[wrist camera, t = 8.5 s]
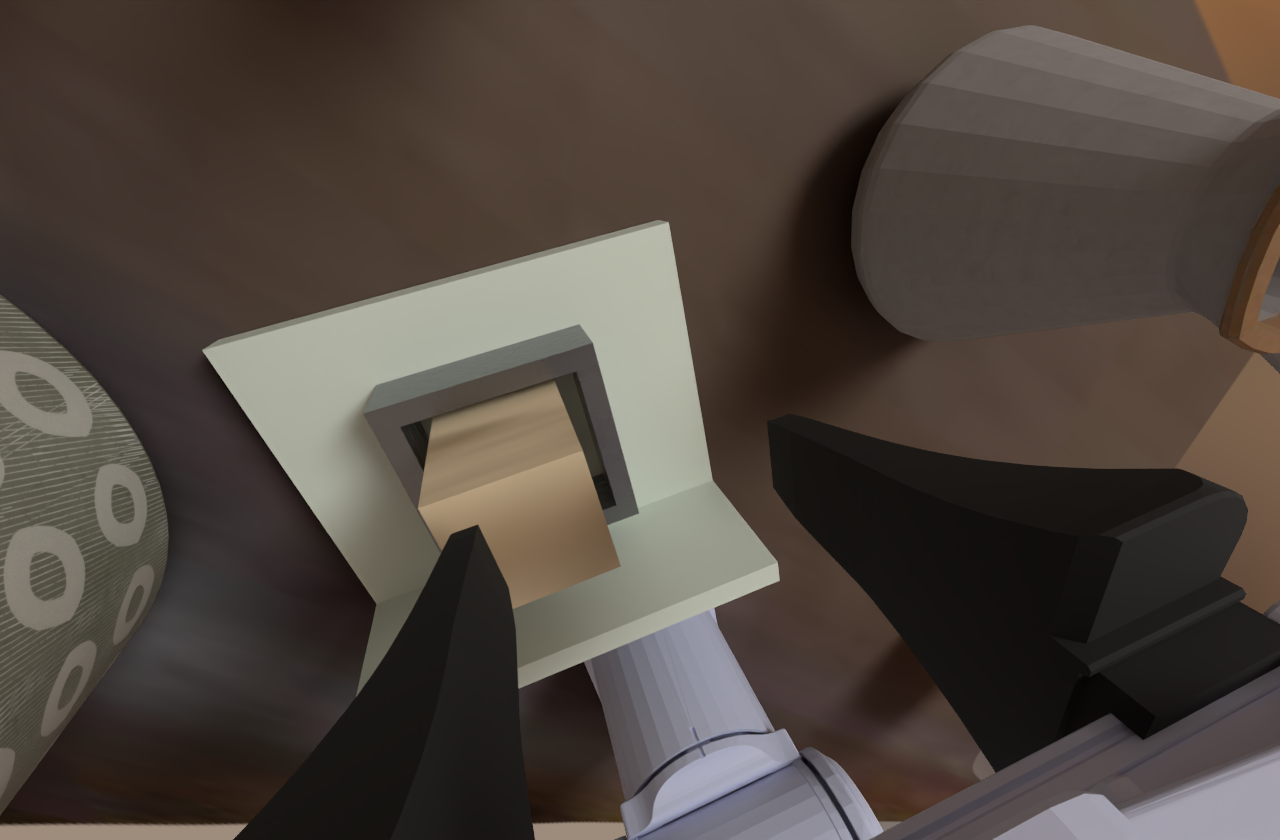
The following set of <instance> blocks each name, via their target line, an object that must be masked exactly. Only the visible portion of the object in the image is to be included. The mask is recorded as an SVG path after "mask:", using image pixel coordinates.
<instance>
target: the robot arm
mask: <svg viewBox="0 0 1280 840" xmlns="http://www.w3.org/2000/svg"><path fill="white" fill-rule="evenodd" d="M767 426H768V436H769V446H770V457H771V467H772V477H773V487H774V489H775V490H776V492H777V493H778V495H779V496H780V497H781V499H782V500H783V502H784V503H785V505H786V506H787V507H788V509H789V510H790V511H791V513H792V514H793V515H794V517H795V518H796V519H797V520H798V521H799V522H800V523H801V524H802V526H803V527H804V528H805V529H806V530H807V531H808V532H809V533H810V534H811V535H812V536H813V537H814V538H815V539H816V540H817V541H818V542H819V543H820V544H821V546H822V547H823V548H824V549H825V550H826V551H827V552H828V553H829V554H830V555H831V556H832V557H833V558H834V559H835V560H836V561H837V562H838V563H839V564H840V565H841V566H842V567H843V568H844V569H845V570H846V571H847V572H848V573H849V574H850V576H851V577H852V578H853V579H854V580H855V581H856V582H857V583H858V584H859V585H860V586H861V587H862V588H863V590H864V591H865V592H866V593H867V594H868V595H869V596H870V597H871V599H872V600H873V601H874V602H875V604H876V605H877V606H878V608H879V609H880V610H881V611H882V613H883V614H884V615H885V616H886V618H887V619H888V620H889V622H890V623H891V624H892V625H893V627H894V628H895V629H896V630H897V632H898V633H899V634H900V636H901V637H902V638H903V640H904V641H905V642H906V644H907V645H908V646H909V648H910V649H911V650H912V652H913V653H914V654H915V656H916V657H917V659H918V660H919V661H920V663H921V664H922V665H923V667H924V668H925V669H926V671H927V672H928V673H929V675H930V676H931V678H932V679H933V681H934V682H935V683H936V685H937V686H938V688H939V689H940V691H941V692H942V693H943V695H944V696H945V698H946V699H947V700H948V702H949V703H950V705H951V706H952V708H953V709H954V710H955V712H956V713H957V715H958V716H959V718H960V719H961V721H962V722H963V724H964V725H965V727H966V728H967V730H968V731H969V733H970V734H971V736H972V737H973V739H974V740H975V742H976V743H977V745H978V746H979V748H980V749H981V751H982V752H983V754H984V755H985V756H986V758H987V760H988V761H989V763H990V764H991V766H992V767H993V769H994V771H995V772H996V773H995V774H993V775H991V776H989V777H987V778H986V779H984V780H982V781H980V782H978V783H976V784H974V785H972V786H970V787H968V788H966V789H964V790H962V791H961V792H959V793H957V794H955V795H953V796H951V797H949V798H947V799H945V800H943V801H941V802H940V803H938V804H936V805H934V806H932V807H930V808H928V809H926V810H924V811H922V812H920V813H919V814H917V815H915V816H913V817H911V818H909V819H907V820H905V821H903V822H901V823H899V824H898V825H896V826H894V827H892V828H890V829H888V830H886V831H883V829H882V828H881V826H880V824H879V822H878V820H877V819H876V817H875V815H874V814H873V812H872V810H871V808H870V807H869V805H868V804H867V802H866V800H865V799H864V797H863V796H862V794H861V793H860V791H859V790H858V788H857V787H856V785H855V784H854V783H853V781H852V780H851V779H850V777H849V776H848V775H847V773H846V772H845V771H844V770H843V769H842V768H841V767H840V765H839V764H838V763H836V762H835V761H834V760H833V759H831V758H829V757H827V756H825V755H823V754H821V753H820V752H819V751H818V750H816V749H814V748H812V747H807V748H805V749H803V750H802V751H800V752H798V751H797V749H796V747H795V746H794V744H793V742H792V740H791V739H790V737H789V735H788V733H787V732H786V730H785V729H780V730H778V731H775V730H774V728H773V727H772V725H771V723H770V721H769V719H768V717H767V716H766V714H765V712H764V710H763V708H762V706H761V705H760V703H759V701H758V699H757V697H756V695H755V694H754V692H753V690H752V688H751V686H750V684H749V683H748V681H747V679H746V677H745V675H744V673H743V672H742V670H741V668H740V666H739V664H738V662H737V661H736V659H735V657H734V655H733V653H732V651H731V650H730V648H729V646H728V644H727V642H726V640H725V639H724V637H723V635H722V633H721V631H720V629H719V628H718V624H717V619H716V614H715V609H714V608H712V609H710V610H707V611H705V612H702V613H700V614H698V615H695V616H693V617H690V618H688V619H685V620H683V621H681V622H678V623H676V624H673V625H671V626H669V627H666V628H664V629H661V630H659V631H657V632H654V633H652V634H649V635H647V636H644V637H642V638H640V639H637V640H635V641H632V642H630V643H628V644H625V645H623V646H620V647H618V648H615V649H613V650H611V651H608V652H606V653H603V654H601V655H599V656H596V657H594V658H591V659H589V660H586V661H584V663H585V666H586V668H587V670H588V673H589V675H590V677H591V680H592V682H593V684H594V687H595V689H596V692H597V694H598V696H599V699H600V701H601V703H602V707H603V711H604V715H605V719H606V723H607V727H608V732H609V736H610V740H611V744H612V748H613V752H614V756H615V760H616V764H617V768H618V772H619V776H620V780H621V784H622V789H623V793H624V797H625V801H626V802H624V803H622V804H621V805H620V810H621V814H622V818H623V823H624V826H625V831H626V835H627V837H626V836H622V837H620V838H618V839H615V840H1280V600H1279V601H1278V602H1277V603H1275V604H1273V605H1272V606H1271V607H1270V608H1269V609H1268V610H1267V611H1266V612H1265V613H1264V614H1263V615H1262V614H1261V613H1259V612H1257V611H1255V610H1253V609H1252V608H1250V607H1248V606H1246V605H1244V604H1243V603H1241V602H1239V601H1241V600H1243V599H1244V597H1245V595H1246V593H1245V591H1244V590H1243V588H1241V587H1239V586H1237V585H1235V584H1233V583H1232V582H1230V581H1228V580H1226V579H1224V578H1222V577H1220V576H1221V573H1222V572H1223V570H1224V568H1225V566H1226V564H1227V562H1228V560H1229V558H1230V556H1231V554H1232V552H1233V550H1234V548H1235V546H1236V544H1237V542H1238V541H1239V538H1240V536H1241V534H1242V531H1243V529H1244V527H1245V524H1246V521H1247V513H1248V509H1247V506H1246V504H1245V501H1244V499H1243V496H1242V495H1240V494H1238V493H1237V492H1235V491H1233V490H1230V489H1227V488H1225V487H1223V486H1221V485H1218V484H1216V483H1214V482H1211V481H1209V480H1206V479H1204V478H1201V477H1199V476H1197V475H1194V474H1192V473H1190V472H1187V471H1184V470H1181V469H1089V468H1066V467H1048V466H1034V465H1023V464H1013V463H1004V462H994V461H986V460H979V459H972V458H965V457H960V456H954V455H948V454H942V453H936V452H931V451H926V450H922V449H917V448H913V447H909V446H904V445H900V444H896V443H892V442H888V441H884V440H880V439H877V438H873V437H869V436H866V435H862V434H859V433H855V432H852V431H849V430H845V429H842V428H839V427H835V426H832V425H829V424H825V423H822V422H819V421H815V420H812V419H808V418H805V417H801V416H797V415H792V414H787V415H785V416H782V417H779V418H776V419H773V420H770V421H768V422H767ZM233 840H535V838H534V831H533V824H532V818H531V811H530V805H529V798H528V791H527V784H526V777H525V769H524V762H523V755H522V746H521V734H520V717H519V692H518V666H517V643H516V627H515V621H514V614H513V608H512V603H511V597H510V592H509V587H508V585H507V583H506V581H505V579H504V577H503V575H502V573H501V571H500V569H499V567H498V565H497V562H496V560H495V558H494V556H493V554H492V552H491V550H490V548H489V546H488V544H487V542H486V540H485V538H484V536H483V534H482V532H481V529H480V527H479V525H475V526H472V527H469V528H466V529H464V530H461V531H458V532H455V533H452V534H451V535H450V537H449V538H448V540H447V542H446V544H445V546H444V548H443V550H442V552H441V554H440V556H439V558H438V560H437V562H436V564H435V566H434V568H433V570H432V572H431V574H430V576H429V578H428V580H427V582H426V584H425V586H424V588H423V590H422V592H421V594H420V596H419V598H418V599H417V601H416V603H415V605H414V607H413V609H412V611H411V612H410V614H409V616H408V618H407V620H406V621H405V623H404V625H403V626H402V628H401V630H400V631H399V633H398V635H397V636H396V638H395V640H394V642H393V643H392V645H391V647H390V648H389V650H388V651H387V653H386V655H385V656H384V658H383V659H382V661H381V662H380V664H379V665H378V667H377V668H376V670H375V671H374V673H373V674H372V675H371V677H370V678H369V680H368V681H367V683H366V684H365V685H364V687H363V688H362V690H361V691H360V692H359V694H358V695H357V697H356V698H355V699H354V701H353V702H352V703H351V705H350V706H349V707H348V709H347V710H346V711H345V712H344V714H343V715H342V716H341V717H340V719H339V720H338V721H337V722H336V724H335V725H334V726H333V727H332V729H331V730H330V731H329V732H328V734H327V735H326V736H325V737H324V739H323V740H322V741H321V742H320V744H319V745H318V746H317V747H316V749H315V750H314V751H313V752H312V754H311V755H310V756H309V757H308V758H307V759H306V761H305V762H304V763H303V764H302V765H301V766H300V768H299V769H298V770H297V771H296V772H295V773H294V774H293V776H292V777H291V778H290V779H289V780H288V781H287V782H286V784H285V785H284V786H283V787H282V788H281V789H280V790H279V791H278V792H277V794H276V795H275V796H274V797H273V798H272V799H271V800H270V801H269V802H268V803H267V804H266V806H265V807H264V808H263V809H262V810H261V811H260V812H259V813H258V814H257V815H256V816H255V817H254V819H253V820H252V821H251V822H250V823H249V824H248V825H247V826H246V827H245V828H244V829H243V830H242V831H241V832H240V833H239V834H238V835H237V837H235V838H234V839H233Z"/></svg>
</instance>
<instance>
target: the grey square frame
mask: <svg viewBox="0 0 1280 840" xmlns="http://www.w3.org/2000/svg"><path fill="white" fill-rule="evenodd" d="M570 373H572V374H573V377H574V381H575V384H576V387H577V391H578V394H579V397H580V401H581V404H582V407H583V410H584V414H585V417H586V420H587V424H588V427H589V430H590V434H591V437H592V440H593V443H594V447H595V450H596V453H597V457H598V460H599V463H600V467H601V470H602V474H599V475H597V476H594V477H592V480H593V483H594V486H595V489H596V492H597V495H598V498H599V501H600V504H601V507H602V510H603V513H604V517H605V520H606V523H607V525H610V524H612V523H615V522H618V521H620V520H623V519H626V518H628V517H631V516H634V515H636V514H639V511H638V507H637V503H636V500H635V496H634V492H633V489H632V485H631V481H630V477H629V474H628V470H627V466H626V463H625V459H624V455H623V452H622V448H621V444H620V441H619V437H618V433H617V430H616V426H615V422H614V419H613V415H612V411H611V408H610V404H609V400H608V396H607V393H606V389H605V385H604V382H603V378H602V374H601V371H600V367H599V363H598V360H597V356H596V352H595V349H594V345H593V342H592V341H591V340H590V338H589V337H588V335H587V334H586V333H585V331H584V330H583V328H582V327H581V326H580V324H578V325H575V326H571V327H568V328H565V329H561V330H558V331H555V332H551V333H548V334H545V335H541V336H538V337H535V338H531V339H528V340H525V341H521V342H518V343H515V344H511V345H508V346H505V347H501V348H498V349H495V350H491V351H488V352H485V353H481V354H478V355H475V356H471V357H468V358H465V359H461V360H458V361H455V362H451V363H448V364H445V365H441V366H438V367H435V368H431V369H428V370H425V371H421V372H418V373H415V374H411V375H408V376H405V377H401V378H398V379H395V380H391V381H388V382H385V383H381V384H378V385H376V387H375V389H374V391H373V393H372V395H371V398H370V400H369V402H368V404H367V406H366V408H365V411H364V413H363V414H364V416H365V418H366V420H367V422H368V423H369V425H370V427H371V429H372V431H373V432H374V434H375V436H376V438H377V440H378V441H379V443H380V445H381V447H382V449H383V450H384V452H385V454H386V456H387V458H388V460H389V461H390V463H391V465H392V467H393V469H394V470H395V472H396V474H397V476H398V478H399V479H400V481H401V483H402V485H403V487H404V488H405V490H406V492H407V494H408V496H409V497H410V499H411V501H412V503H413V505H414V506H415V508H416V510H417V512H418V514H419V515H420V517H421V519H422V521H423V523H424V524H425V526H426V528H427V530H428V532H429V533H430V535H431V537H432V539H433V541H434V543H435V544H436V546H437V548H438V550H439V552H440V553H441V552H442V550H441V549H440V547H439V545H438V543H437V541H436V540H435V538H434V536H433V534H432V533H431V531H430V529H429V527H428V526H427V524H426V522H425V520H424V519H423V517H422V515H421V513H420V511H419V510H418V505H419V499H420V492H421V486H422V480H423V474H424V468H425V462H426V456H427V450H428V444H429V438H428V436H427V434H426V432H425V430H424V428H423V426H422V424H421V422H420V421H421V420H424V419H427V418H430V417H433V416H436V415H440V414H443V413H446V412H449V411H452V410H455V409H459V408H462V407H465V406H468V405H471V404H474V403H478V402H481V401H484V400H487V399H490V398H494V397H497V396H500V395H503V394H506V393H509V392H513V391H516V390H519V389H522V388H525V387H528V386H532V385H535V384H538V383H541V382H544V381H547V380H551V379H554V378H557V377H560V376H563V375H566V374H570Z"/></svg>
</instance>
